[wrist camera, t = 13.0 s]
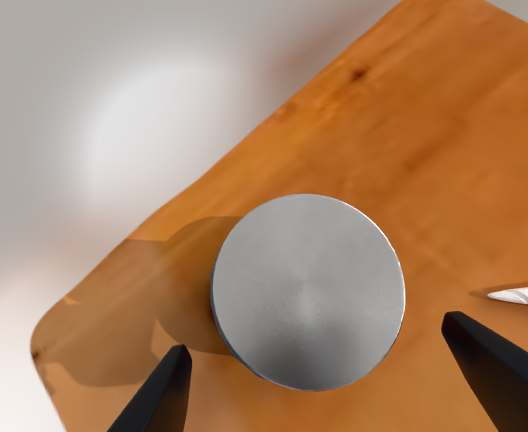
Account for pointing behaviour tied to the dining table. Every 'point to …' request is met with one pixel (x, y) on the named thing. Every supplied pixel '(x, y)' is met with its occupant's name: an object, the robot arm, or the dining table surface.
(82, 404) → the dining table surface
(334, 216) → the tin
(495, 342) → the robot arm
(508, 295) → the unicorn horn
